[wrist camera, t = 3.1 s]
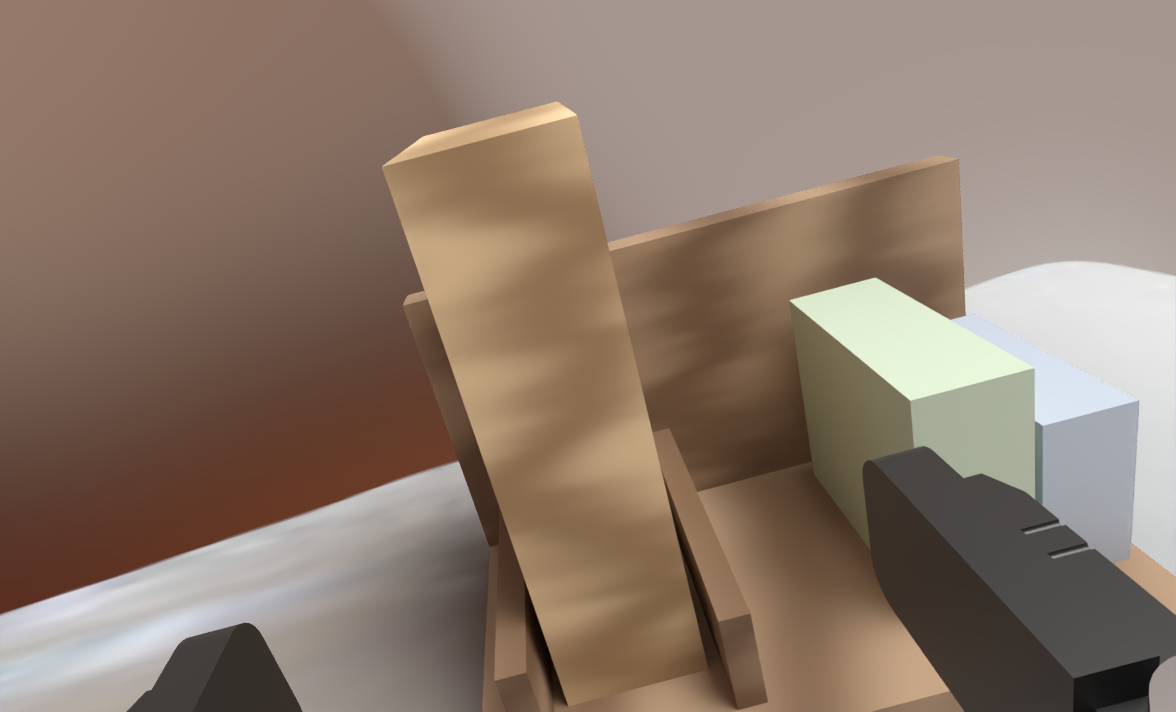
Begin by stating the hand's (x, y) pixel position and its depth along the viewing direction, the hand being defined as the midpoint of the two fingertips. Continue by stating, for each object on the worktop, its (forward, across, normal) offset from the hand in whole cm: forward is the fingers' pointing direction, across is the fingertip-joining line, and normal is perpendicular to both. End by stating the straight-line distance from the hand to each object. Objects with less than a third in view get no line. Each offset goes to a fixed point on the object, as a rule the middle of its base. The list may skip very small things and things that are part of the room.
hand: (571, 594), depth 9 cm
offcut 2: (+11, -13, +10) cm, 20 cm away
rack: (+11, -5, +11) cm, 16 cm away
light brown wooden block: (+11, 0, +10) cm, 15 cm away
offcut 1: (+11, -10, +10) cm, 18 cm away
